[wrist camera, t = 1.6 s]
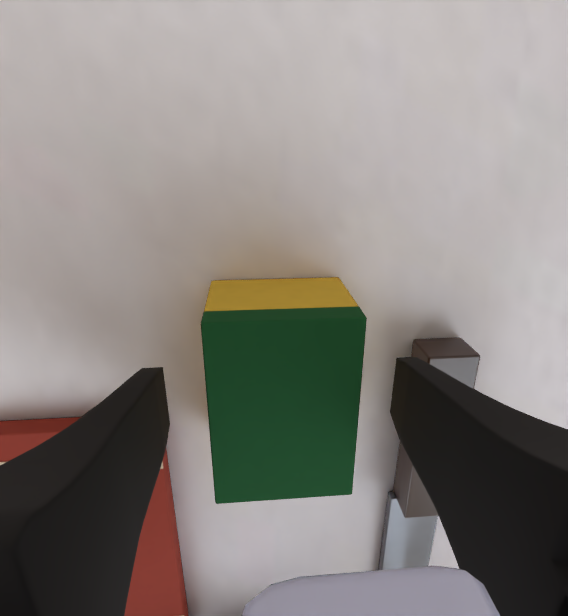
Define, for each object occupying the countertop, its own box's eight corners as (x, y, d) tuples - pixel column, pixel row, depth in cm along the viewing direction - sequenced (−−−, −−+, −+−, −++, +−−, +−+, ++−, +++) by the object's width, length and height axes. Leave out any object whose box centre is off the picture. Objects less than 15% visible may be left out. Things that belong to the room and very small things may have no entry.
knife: (365, 666, 22) (373, 701, 21) (407, 338, 15) (423, 358, 13) (405, 662, 22) (415, 696, 21) (466, 336, 15) (488, 356, 14)
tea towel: (58, 634, 19) (50, 655, 18) (-12, 420, 15) (-27, 436, 14) (189, 622, 20) (187, 642, 19) (161, 411, 15) (157, 426, 14)
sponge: (221, 431, 16) (215, 504, 12) (211, 280, 13) (200, 322, 10) (331, 425, 16) (352, 495, 13) (339, 276, 14) (367, 317, 10)
